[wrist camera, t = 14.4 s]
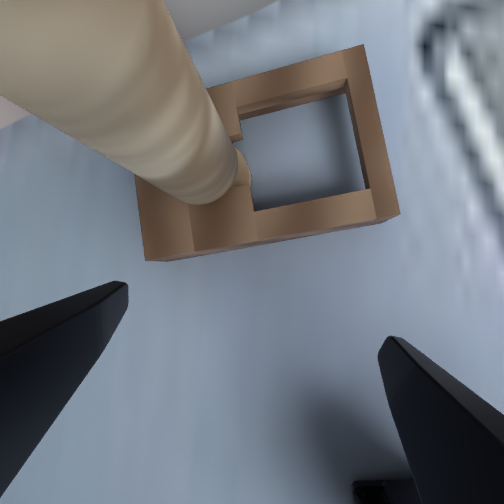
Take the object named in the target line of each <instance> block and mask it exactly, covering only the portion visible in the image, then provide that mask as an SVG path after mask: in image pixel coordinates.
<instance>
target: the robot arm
mask: <svg viewBox="0 0 504 504" xmlns="http://www.w3.org/2000/svg"><path fill="white" fill-rule="evenodd" d="M127 307H128V284H127V283H125V282H120V281H112V282H109V283H106V284H103V285H101V286H98V287H95V288H92V289H89V290H87V291H84V292H81V293H78V294H75V295H73V296H70V297H67V298H64V299H62V300H59V301H56V302H53V303H50V304H48V305H45V306H42V307H39V308H36V309H34V310H31V311H28V312H25V313H22V314H20V315H17V316H14V317H11V318H8V319H6V320H3V321H0V498H1V496H2V495H3V493H4V492H5V490H6V489H7V488H8V486H9V485H10V483H11V482H12V480H13V479H14V478H15V476H16V475H17V473H18V472H19V471H20V469H21V468H22V466H23V465H24V463H25V462H26V461H27V459H28V458H29V456H30V455H31V453H32V452H33V451H34V449H35V448H36V446H37V445H38V444H39V442H40V441H41V439H42V438H43V436H44V435H45V434H46V432H47V431H48V429H49V428H50V426H51V425H52V424H53V422H54V421H55V419H56V418H57V417H58V415H59V414H60V412H61V411H62V409H63V408H64V407H65V405H66V404H67V402H68V401H69V399H70V398H71V397H72V395H73V394H74V392H75V391H76V390H77V388H78V387H79V385H80V384H81V382H82V381H83V380H84V378H85V377H86V375H87V374H88V372H89V371H90V370H91V368H92V367H93V365H94V364H95V363H96V361H97V360H98V358H99V357H100V355H101V354H102V352H103V351H104V349H105V348H106V346H107V344H108V342H109V341H110V339H111V337H112V335H113V333H114V332H115V330H116V328H117V326H118V324H119V323H120V321H121V319H122V317H123V315H124V314H125V312H126V310H127ZM378 362H379V367H380V371H381V375H382V379H383V383H384V388H385V392H386V396H387V400H388V404H389V407H390V410H391V413H392V416H393V419H394V422H395V425H396V428H397V431H398V434H399V437H400V440H401V443H402V446H403V449H404V452H405V454H406V457H407V460H408V463H409V466H410V469H411V472H412V475H413V478H414V479H405V480H376V481H356V482H354V483H353V485H352V494H353V499H354V504H504V415H503V414H502V413H501V412H499V411H498V410H497V409H495V408H494V407H493V406H491V405H490V404H489V403H487V402H486V401H485V400H483V399H482V398H481V397H479V396H478V395H477V394H475V393H474V392H473V391H471V390H470V389H469V388H468V387H466V386H465V385H464V384H462V383H461V382H460V381H458V380H457V379H456V378H454V377H453V376H452V375H450V374H449V373H448V372H446V371H445V370H444V369H442V368H441V367H440V366H439V365H437V364H436V363H435V362H433V361H432V360H431V359H429V358H428V357H427V356H425V355H424V354H423V353H421V352H420V351H419V350H417V349H416V348H415V347H413V346H412V345H411V344H410V343H408V342H407V341H406V340H404V339H403V338H401V337H396V336H388V337H387V338H386V340H385V341H384V343H383V345H382V347H381V348H380V350H379V352H378ZM360 490H361V491H363V493H358V491H360Z"/></svg>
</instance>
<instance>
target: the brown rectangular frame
mask: <svg viewBox="0 0 504 504" xmlns="http://www.w3.org/2000/svg"><path fill="white" fill-rule="evenodd" d="M206 90H207V92H208V94H209V96H210V98H211V100H212V102H213V104H214V106H215V108H216V110H217V112H218V115H219V117H220V119H221V121H222V123H223V125H224V127H225V129H226V131H227V133H228V135H229V137H230V139H231V141H232V142H235V141H240V140H243V137H242V131H241V125H240V120H243V119H247V118H251V117H255V116H259V115H263V114H266V113H270V112H274V111H278V110H282V109H286V108H290V107H293V106H297V105H301V104H305V103H309V102H313V101H317V100H321V99H324V98H328V97H332V96H336V95H340V94H344V93H346V96H347V101H348V106H349V111H350V115H351V120H352V125H353V130H354V135H355V140H356V144H357V149H358V154H359V159H360V164H361V169H362V173H363V178H364V183H365V188H366V189H365V190H360V191H355V192H350V193H345V194H340V195H335V196H330V197H325V198H320V199H315V200H310V201H305V202H300V203H295V204H290V205H285V206H280V207H275V208H270V209H265V210H260V211H255V209H254V203H253V197H252V191H251V187H250V185H249V184H248V185H243V186H238V187H234V188H229V190H228V191H227V192H226V193H225V194H224V195H223V196H221V197H220V198H219V199H217V200H215V201H213V202H211V203H208V204H204V205H192V204H187V203H184V202H182V201H180V200H178V199H177V198H175V197H173V196H171V195H170V194H168V193H166V192H165V191H163V190H161V189H159V188H158V187H156V186H154V185H153V184H151V183H149V182H148V181H146V180H144V179H142V178H141V177H139V176H137V175H136V174H134V176H135V184H136V192H137V200H138V208H139V216H140V223H141V231H142V239H143V247H144V255H145V261H166V262H168V261H173V260H179V259H185V258H190V257H196V256H201V255H207V254H212V253H218V252H223V251H229V250H235V249H240V248H246V247H251V246H257V245H262V244H268V243H274V242H279V241H285V240H290V239H296V238H301V237H307V236H312V235H318V234H324V233H329V232H335V231H340V230H346V229H351V228H357V227H362V226H368V225H374V224H379V223H383V222H385V221H387V220H389V219H391V218H393V217H395V216H397V215H399V214H400V209H399V205H398V200H397V195H396V191H395V186H394V182H393V177H392V172H391V168H390V163H389V159H388V154H387V149H386V145H385V140H384V136H383V131H382V126H381V122H380V117H379V112H378V108H377V103H376V99H375V94H374V89H373V85H372V80H371V76H370V71H369V66H368V62H367V57H366V53H365V48H364V44H363V45H359V46H355V47H352V48H348V49H345V50H341V51H338V52H334V53H331V54H327V55H324V56H320V57H317V58H313V59H310V60H306V61H303V62H299V63H296V64H292V65H289V66H285V67H282V68H278V69H274V70H271V71H267V72H264V73H260V74H257V75H253V76H250V77H246V78H243V79H239V80H236V81H232V82H229V83H225V84H222V85H218V86H215V87H211V88H208V89H206Z"/></svg>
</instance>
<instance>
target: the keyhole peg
mask: <svg viewBox="0 0 504 504" xmlns="http://www.w3.org/2000/svg"><path fill="white" fill-rule="evenodd" d="M0 95H1V96H3V97H4V98H6V99H8V100H9V101H11V102H13V103H14V104H16V105H18V106H20V107H21V108H23V109H25V110H27V111H28V112H30V113H31V114H33V115H35V116H37V117H38V118H40V119H42V120H43V121H45V122H47V123H49V124H50V125H52V126H54V127H55V128H57V129H59V130H60V131H62V132H64V133H66V134H67V135H69V136H71V137H72V138H74V139H76V140H78V141H79V142H81V143H83V144H84V145H86V146H88V147H90V148H91V149H93V150H95V151H96V152H98V153H100V154H101V155H103V156H105V157H107V158H108V159H110V160H112V161H113V162H115V163H117V164H119V165H120V166H122V167H124V168H125V169H127V170H129V171H130V172H132V173H134V174H136V175H137V176H139V177H141V178H142V179H144V180H146V181H148V182H149V183H151V184H153V185H154V186H156V187H158V188H159V189H161V190H163V191H165V192H166V193H168V194H170V195H171V196H173V197H175V198H177V199H178V200H180V201H182V202H184V203H187V204H192V205H204V204H208V203H211V202H213V201H215V200H217V199H219V198H220V197H221V196H223V195H224V194H225V193H226V192H227V191H228V190H229V188H234V187H238V186H243V185H248V184H249V185H250V187H251V189H252V176H251V172H250V169H249V167H248V164H247V162H246V160H245V158H244V156H243V155H242V153H241V152H240V151H239V150H238V149H237V148H236V147H235V146H234V145H233V143H232V141H231V139H230V137H229V135H228V133H227V131H226V129H225V127H224V125H223V123H222V121H221V119H220V117H219V115H218V112H217V110H216V108H215V106H214V104H213V102H212V100H211V98H210V96H209V94H208V92H207V90H206V88H205V86H204V84H203V82H202V80H201V78H200V76H199V74H198V71H197V69H196V67H195V65H194V63H193V61H192V59H191V57H190V55H189V53H188V51H187V49H186V47H185V45H184V43H183V41H182V39H181V37H180V35H179V33H178V31H177V28H176V26H175V24H174V22H173V21H172V18H171V16H170V14H169V12H168V10H167V8H166V6H165V4H164V2H163V0H0Z"/></svg>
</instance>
